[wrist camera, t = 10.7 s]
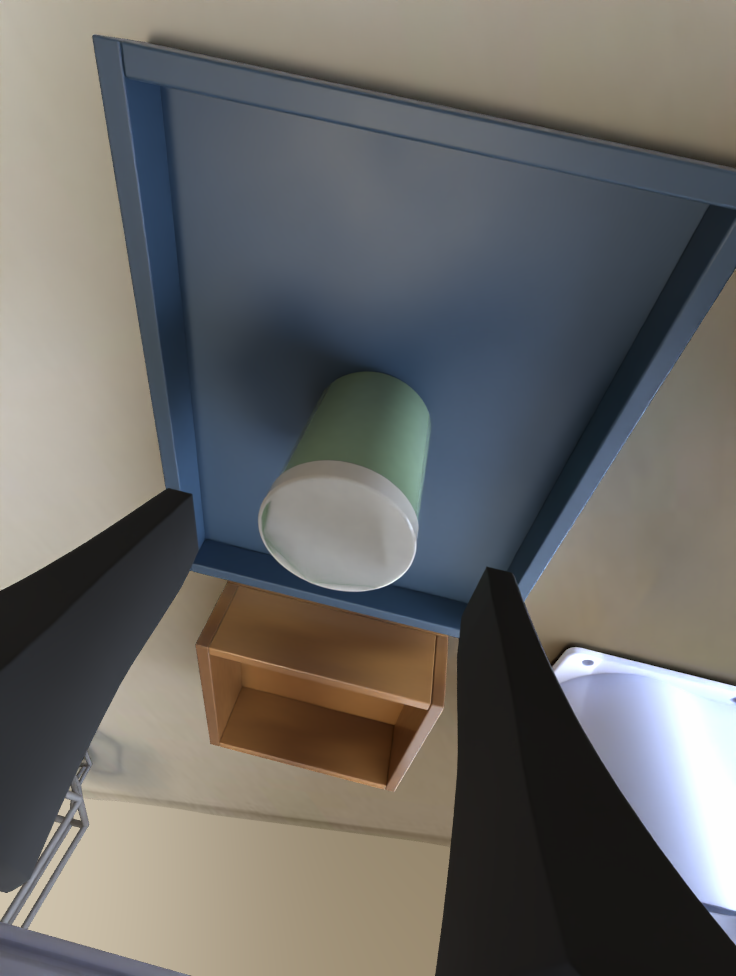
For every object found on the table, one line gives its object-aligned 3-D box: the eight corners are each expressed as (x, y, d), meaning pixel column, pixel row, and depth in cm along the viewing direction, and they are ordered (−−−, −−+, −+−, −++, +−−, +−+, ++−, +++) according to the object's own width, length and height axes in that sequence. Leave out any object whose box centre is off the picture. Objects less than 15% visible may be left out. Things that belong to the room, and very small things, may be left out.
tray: (747, 170, 11) (791, 183, 9) (494, 609, 22) (495, 647, 20) (143, 41, 11) (90, 33, 10) (198, 536, 22) (178, 568, 21)
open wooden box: (449, 628, 23) (444, 708, 20) (402, 723, 31) (394, 792, 28) (230, 574, 24) (194, 644, 21) (236, 680, 31) (210, 744, 28)
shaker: (446, 385, 15) (434, 501, 11) (417, 484, 17) (398, 607, 13) (319, 356, 15) (257, 458, 11) (309, 458, 18) (256, 572, 13)
